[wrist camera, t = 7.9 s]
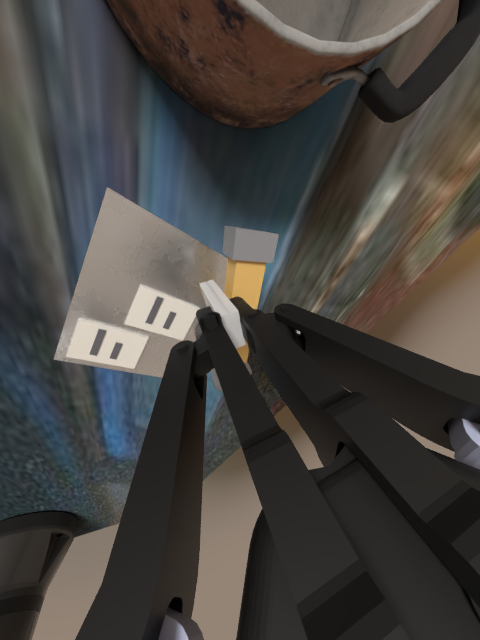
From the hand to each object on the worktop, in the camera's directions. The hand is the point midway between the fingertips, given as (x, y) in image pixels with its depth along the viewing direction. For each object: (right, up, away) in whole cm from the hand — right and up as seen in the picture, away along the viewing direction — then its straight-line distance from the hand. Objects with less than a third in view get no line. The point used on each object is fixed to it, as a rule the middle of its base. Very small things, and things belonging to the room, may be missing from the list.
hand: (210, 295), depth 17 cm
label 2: (-7, -1, +6) cm, 9 cm away
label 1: (-13, -5, +6) cm, 15 cm away
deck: (-7, -1, +6) cm, 9 cm away
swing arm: (+2, -2, +1) cm, 3 cm away
